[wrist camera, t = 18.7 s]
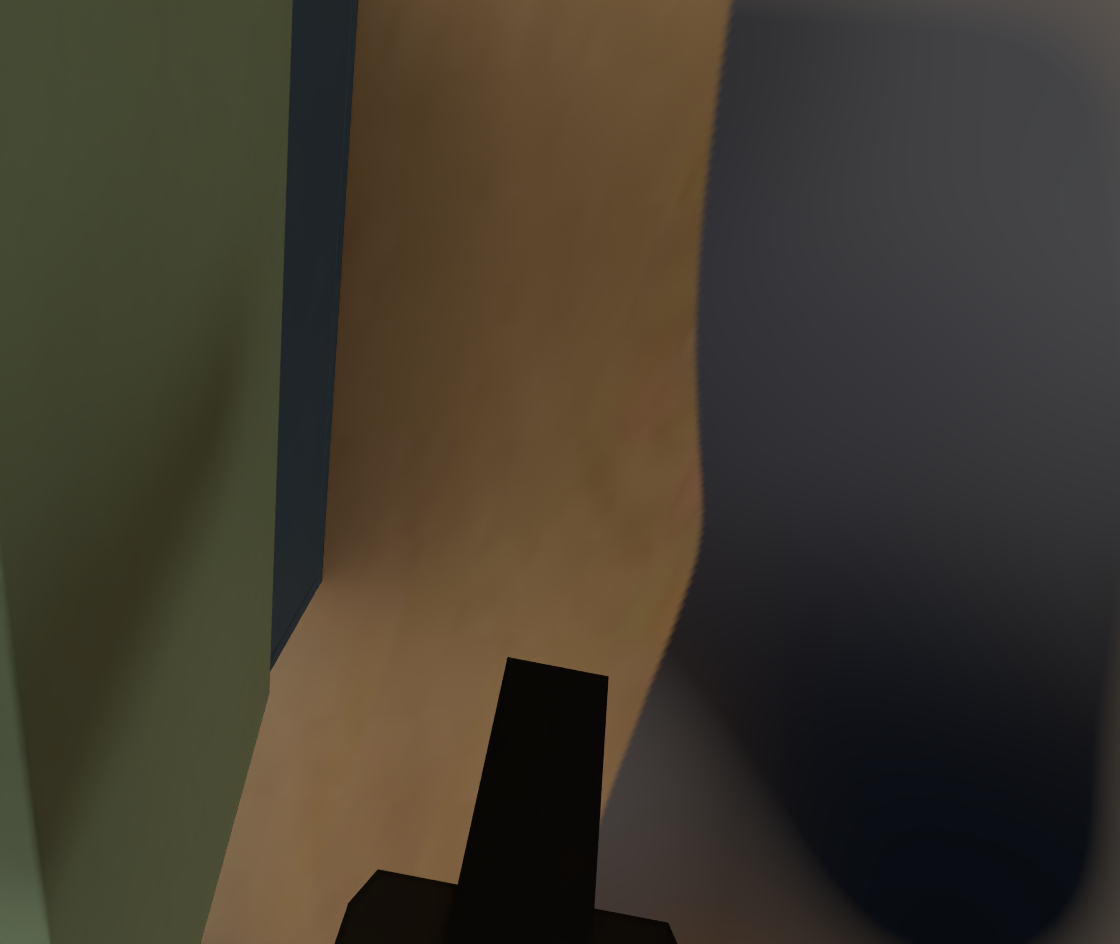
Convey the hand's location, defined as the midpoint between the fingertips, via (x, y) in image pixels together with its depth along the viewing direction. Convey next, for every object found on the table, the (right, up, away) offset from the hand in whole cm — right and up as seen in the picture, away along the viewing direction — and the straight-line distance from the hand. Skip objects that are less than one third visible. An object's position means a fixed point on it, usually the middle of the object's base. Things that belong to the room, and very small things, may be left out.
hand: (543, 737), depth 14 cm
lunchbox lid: (-7, +3, +3) cm, 8 cm away
